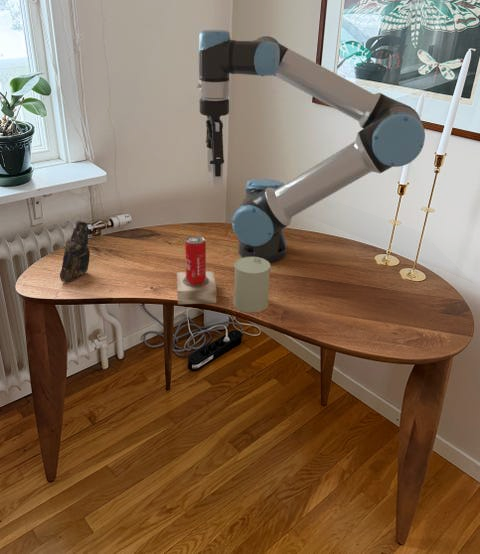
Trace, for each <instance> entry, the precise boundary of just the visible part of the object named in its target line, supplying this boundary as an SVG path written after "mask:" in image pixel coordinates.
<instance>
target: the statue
mask: <svg viewBox="0 0 480 554" xmlns="http://www.w3.org/2000/svg"><path fill="white" fill-rule="evenodd" d="M75 224H76V225H75V227H74V228H73V231H72V234H71V237H70V242H71V244H70V245H67V246H66V247H65V250H64V254H63V257H62V264H61V270H60V273H59V279H60V280H61V282H62V283H68V282H72V281H74V280H76V279H78V278H80V277H82V276H83V275H85V274H86V273H87V272H88V268H89V264H90V257H91V256H90V255H91V254H90V253H91V252H90V248H89V247H88V243H89V231H88V225H87V224H88V223H87V221H83V220H82V221H81V220H77V221H76V223H75Z"/></svg>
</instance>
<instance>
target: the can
mask: <svg viewBox="0 0 480 554" xmlns="http://www.w3.org/2000/svg"><path fill="white" fill-rule="evenodd" d="M270 274H271V262H268V261H267V260H265V259H263V258H259V257H241V258H238V259H237V260H236V261H235V262H234V290H233V291H234V293H233V306H234V308H235V309H237V311H240V312H244V313H247V314H248V313H249V314H256V313H260V312H264V311H265V310H266V309H267V308H268V307H269V293H270V292H269V288H270V276H271V275H270Z"/></svg>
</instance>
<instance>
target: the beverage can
mask: <svg viewBox="0 0 480 554" xmlns="http://www.w3.org/2000/svg"><path fill="white" fill-rule="evenodd" d="M185 240H186V241H185V242H184V243H185V244H184V245H185V250H184V251H185V252H184V253H185V272H186V279H187V280H188V283H190V284H192V285H200V284H202V283H204V280H205V278H206V271H207V267H206V266H207V263H206V262H207V261H206V259H207V257H206V254H207V247H206V246H207V242H206V239H205V237H202V236H199V235H191V236H188V237H187V238H186V239H185Z"/></svg>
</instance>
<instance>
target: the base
mask: <svg viewBox="0 0 480 554" xmlns="http://www.w3.org/2000/svg"><path fill="white" fill-rule="evenodd" d="M176 290H177V305H193V304H194V305H195V304H197V305H198V304H216V303H217V285H216V279H215V273H214V271H208V270H206V278H205V280H204V283H202V284H200V285H192V284H190V283H188V280H187V279H186V271H182V272H180V271H179V272H178V271H177V272H176Z"/></svg>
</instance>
